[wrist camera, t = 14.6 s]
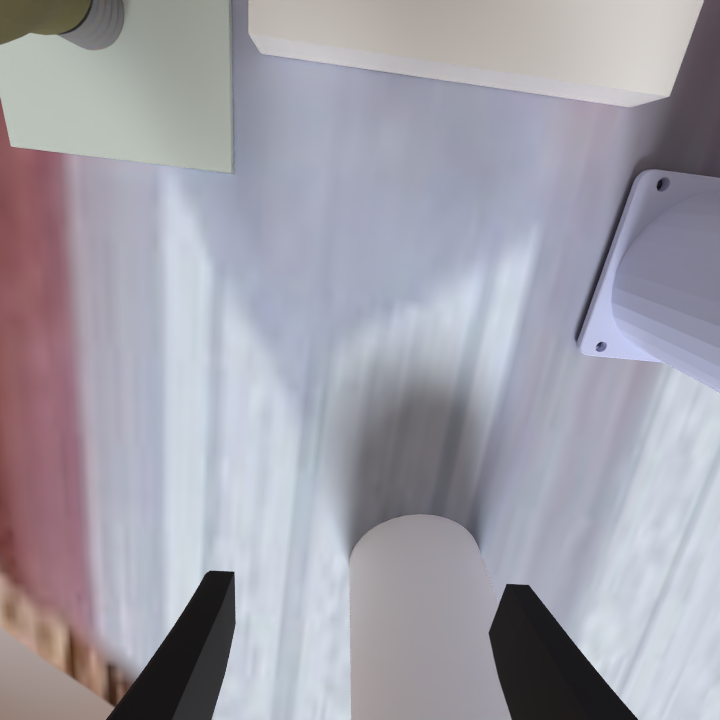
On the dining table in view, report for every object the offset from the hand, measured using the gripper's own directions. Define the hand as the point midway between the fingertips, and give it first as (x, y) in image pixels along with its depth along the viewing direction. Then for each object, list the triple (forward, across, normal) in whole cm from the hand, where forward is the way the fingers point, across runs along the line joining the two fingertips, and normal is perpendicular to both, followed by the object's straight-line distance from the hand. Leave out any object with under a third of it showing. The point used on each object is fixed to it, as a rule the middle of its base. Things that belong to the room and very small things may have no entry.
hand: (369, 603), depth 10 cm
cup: (+11, -5, +13) cm, 18 cm away
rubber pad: (+10, +10, -14) cm, 20 cm away
